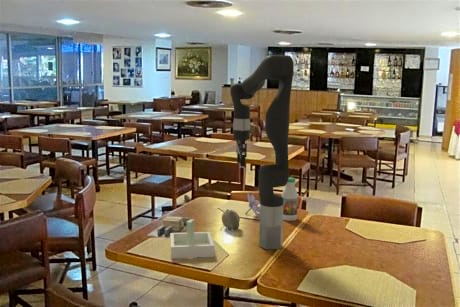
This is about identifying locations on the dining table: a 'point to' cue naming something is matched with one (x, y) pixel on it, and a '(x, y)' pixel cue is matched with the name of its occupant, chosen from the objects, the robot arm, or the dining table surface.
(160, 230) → the rack
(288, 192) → the milk bottle
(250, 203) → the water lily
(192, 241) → the pale green block
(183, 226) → the offcut bottom
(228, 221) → the grey rounded lump
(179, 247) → the tray
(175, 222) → the offcut top
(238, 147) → the robot arm
